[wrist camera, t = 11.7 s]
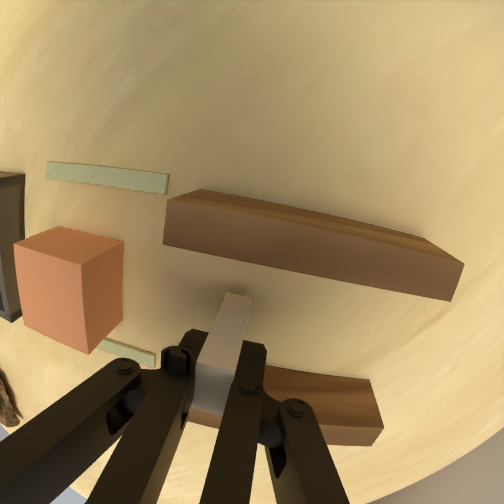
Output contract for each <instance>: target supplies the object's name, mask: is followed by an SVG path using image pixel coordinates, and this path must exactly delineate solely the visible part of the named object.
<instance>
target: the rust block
mask: <svg viewBox="0 0 504 504" xmlns="http://www.w3.org/2000/svg"><path fill="white" fill-rule="evenodd" d="M123 242H124V241H119V240H115V239H110V238H106V237H102V236H97V235H93V234H89V233H84V232H80V231H76V230H71V229H67V228H63V227H59V226H58V227H56V228H53V229H50V230H47V231H45V232H42V233H39V234H37V235H34V236H31V237H29V238H26V239H24V240H21V241H19V242H16V243H14V257H15V267H16V276H17V284H18V291H19V297H20V303H21V309H22V314H23V320H24V324H25V326H27V327H29V328H31V329H33V330H35V331H37V332H39V333H41V334H43V335H45V336H47V337H49V338H51V339H54V340H56V341H58V342H60V343H62V344H64V345H67V346H69V347H71V348H73V349H76V350H78V351H80V352H83V353H85V354H88V355H89V354H90V353H91V352H92V351H93V350H94V349H95V348H96V347H97V346H98V345H99V343H100V342H101V341H102V340H103V339H104V338H105V337H106V336H107V335H108V334H109V333H110V332H111V331H112V330H113V329H114V328H115V327H116V326H117V325H118V324H119V323H120V321H121V320H122V319H123V313H122V269H123Z"/></svg>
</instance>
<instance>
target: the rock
mask: <svg viewBox="0 0 504 504" xmlns="http://www.w3.org/2000/svg"><path fill="white" fill-rule="evenodd" d="M0 423H1V424H3V425H5V426H6V427H14V426H17V425H19V423H20V420H19V419H18V417H17V416H16V415H15V413H14V410H13V407H12V405H11V403H10V400H9V396H8V395H7V393H6V389H5V386H4V383H3V381H2V379H1V378H0Z"/></svg>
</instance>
